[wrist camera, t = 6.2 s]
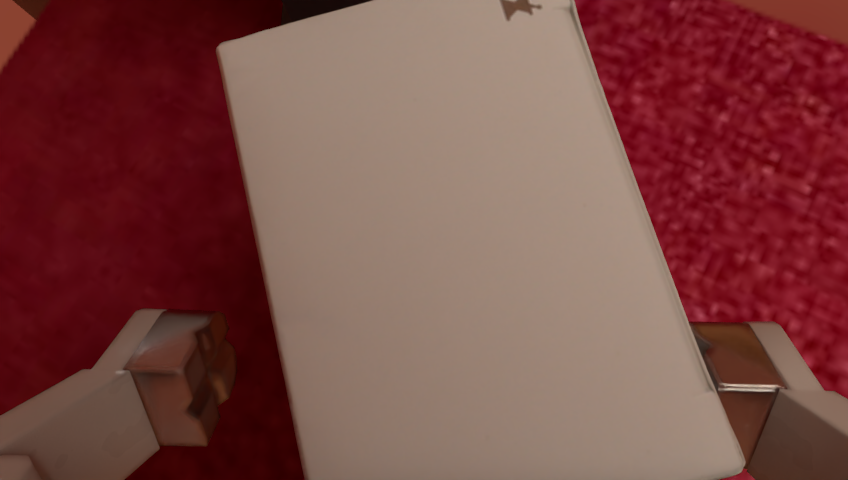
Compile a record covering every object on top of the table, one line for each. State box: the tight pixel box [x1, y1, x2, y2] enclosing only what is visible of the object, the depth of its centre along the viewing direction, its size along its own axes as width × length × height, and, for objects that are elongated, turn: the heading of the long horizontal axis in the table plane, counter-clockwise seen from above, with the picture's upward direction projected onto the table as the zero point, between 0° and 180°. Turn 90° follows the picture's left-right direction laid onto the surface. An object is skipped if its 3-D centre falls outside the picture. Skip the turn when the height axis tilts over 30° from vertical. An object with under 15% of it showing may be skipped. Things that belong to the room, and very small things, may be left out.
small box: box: [216, 0, 746, 480], centre depth 13 cm, size 8×6×10 cm
